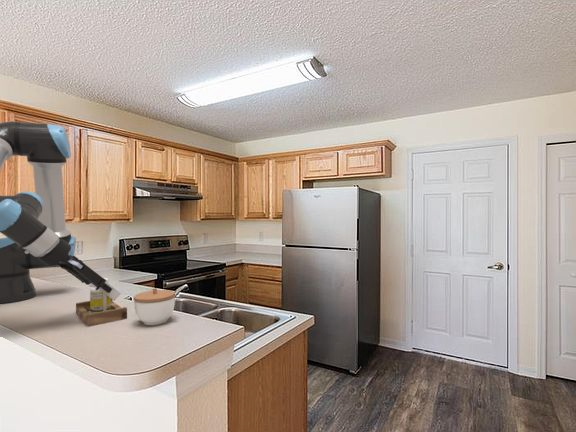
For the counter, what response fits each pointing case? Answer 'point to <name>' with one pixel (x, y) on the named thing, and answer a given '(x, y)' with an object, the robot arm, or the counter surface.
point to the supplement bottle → (99, 300)
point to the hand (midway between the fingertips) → (112, 295)
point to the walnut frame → (100, 314)
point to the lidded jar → (154, 306)
